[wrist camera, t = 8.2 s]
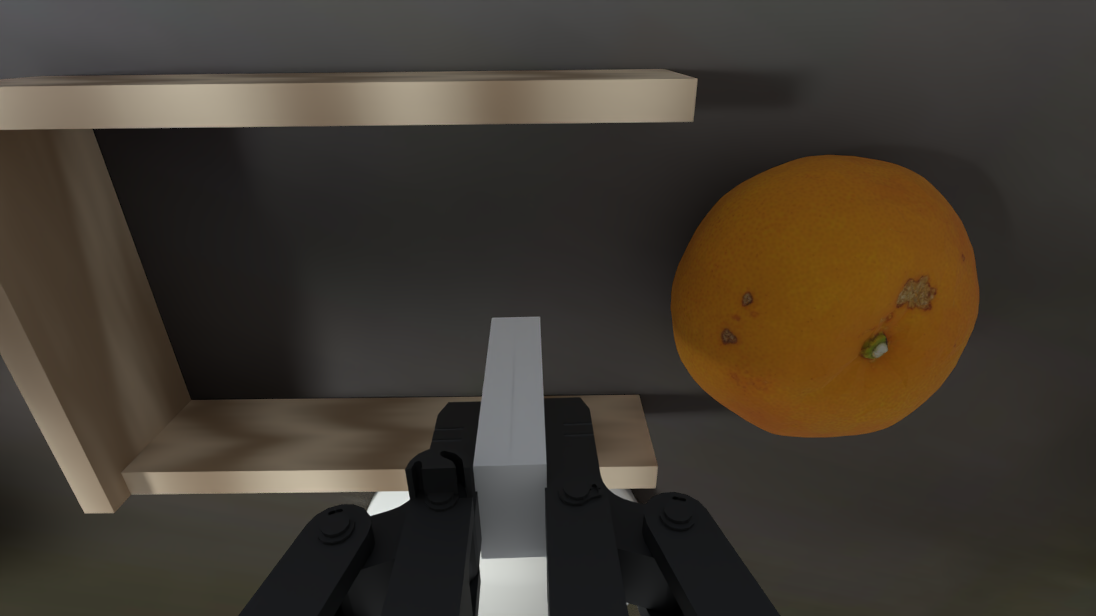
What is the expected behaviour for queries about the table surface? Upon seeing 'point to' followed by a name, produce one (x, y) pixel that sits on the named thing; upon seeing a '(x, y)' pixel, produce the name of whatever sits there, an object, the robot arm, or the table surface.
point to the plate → (499, 570)
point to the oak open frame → (133, 317)
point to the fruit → (826, 296)
